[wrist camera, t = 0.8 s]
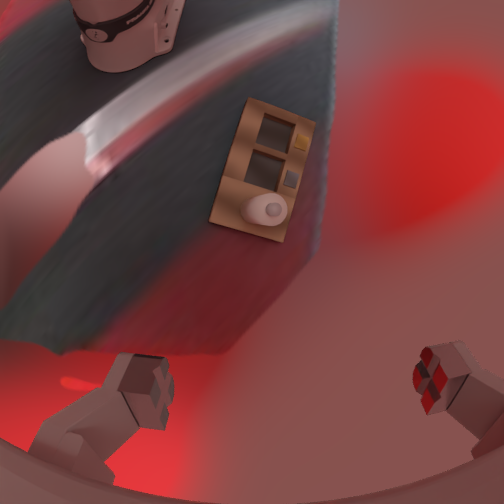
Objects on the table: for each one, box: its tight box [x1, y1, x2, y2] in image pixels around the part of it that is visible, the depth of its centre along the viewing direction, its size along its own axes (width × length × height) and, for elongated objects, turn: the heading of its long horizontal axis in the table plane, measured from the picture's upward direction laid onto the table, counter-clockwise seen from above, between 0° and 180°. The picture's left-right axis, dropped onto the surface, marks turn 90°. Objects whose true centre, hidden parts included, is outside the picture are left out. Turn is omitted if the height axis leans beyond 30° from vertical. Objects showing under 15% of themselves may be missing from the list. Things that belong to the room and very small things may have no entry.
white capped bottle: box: [241, 193, 287, 226], centre depth 40 cm, size 4×4×12 cm
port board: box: [208, 97, 316, 243], centre depth 46 cm, size 21×12×3 cm, turn 164°
